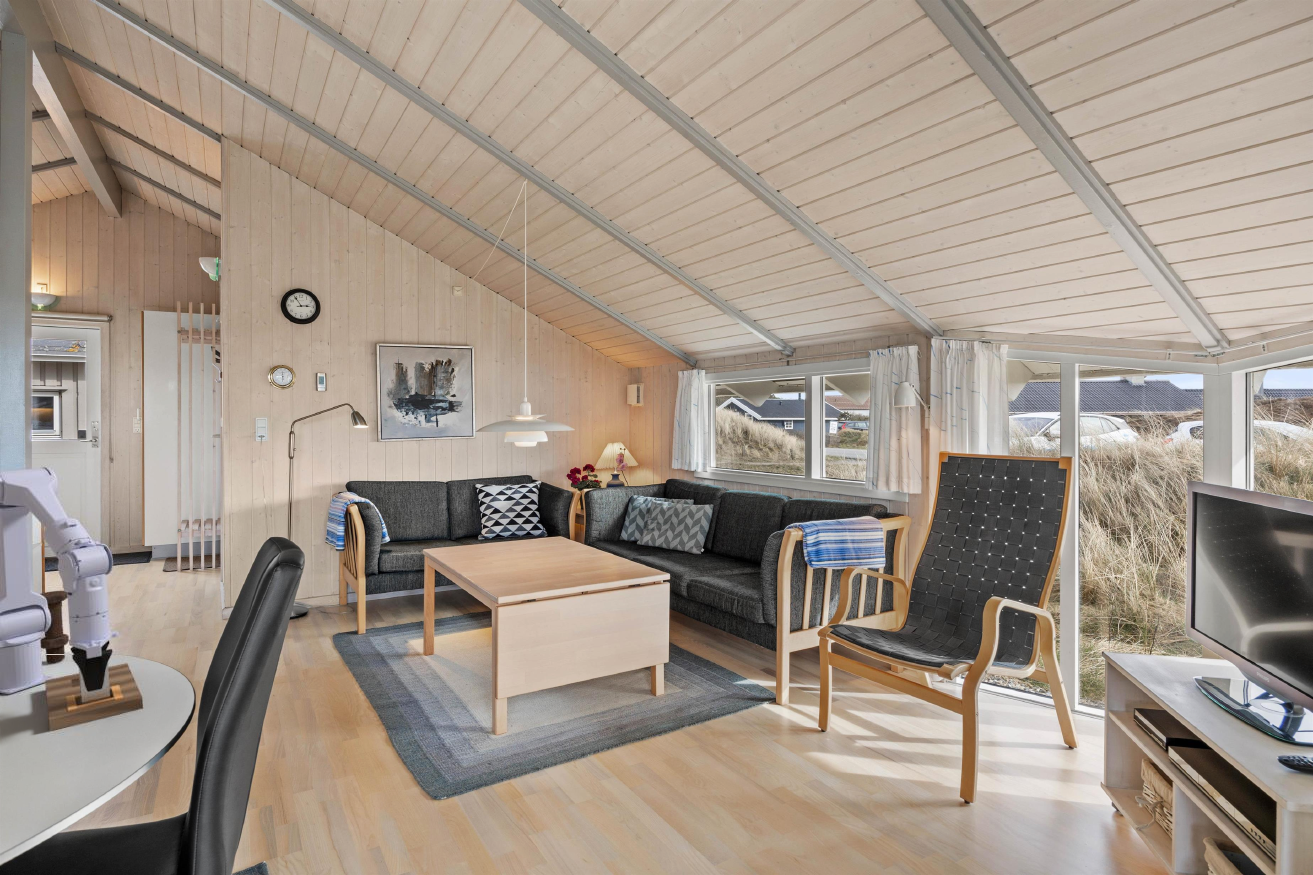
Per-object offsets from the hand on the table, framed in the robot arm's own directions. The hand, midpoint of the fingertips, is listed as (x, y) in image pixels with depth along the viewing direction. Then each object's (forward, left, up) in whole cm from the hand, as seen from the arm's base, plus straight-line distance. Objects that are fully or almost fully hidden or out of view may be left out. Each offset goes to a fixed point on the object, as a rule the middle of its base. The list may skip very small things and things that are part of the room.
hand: (93, 686), depth 131 cm
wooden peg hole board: (-5, +3, -4) cm, 7 cm away
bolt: (-35, +14, -4) cm, 38 cm away
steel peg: (0, 0, -3) cm, 4 cm away
